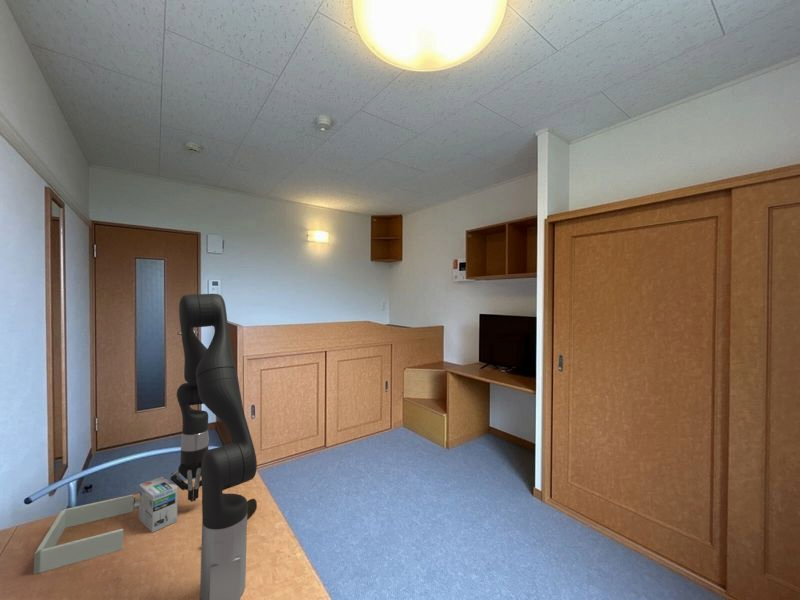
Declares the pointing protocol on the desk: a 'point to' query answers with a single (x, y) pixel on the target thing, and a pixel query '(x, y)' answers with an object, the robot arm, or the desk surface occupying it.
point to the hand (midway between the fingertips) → (193, 500)
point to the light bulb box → (158, 503)
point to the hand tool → (251, 507)
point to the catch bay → (87, 547)
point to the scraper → (136, 502)
